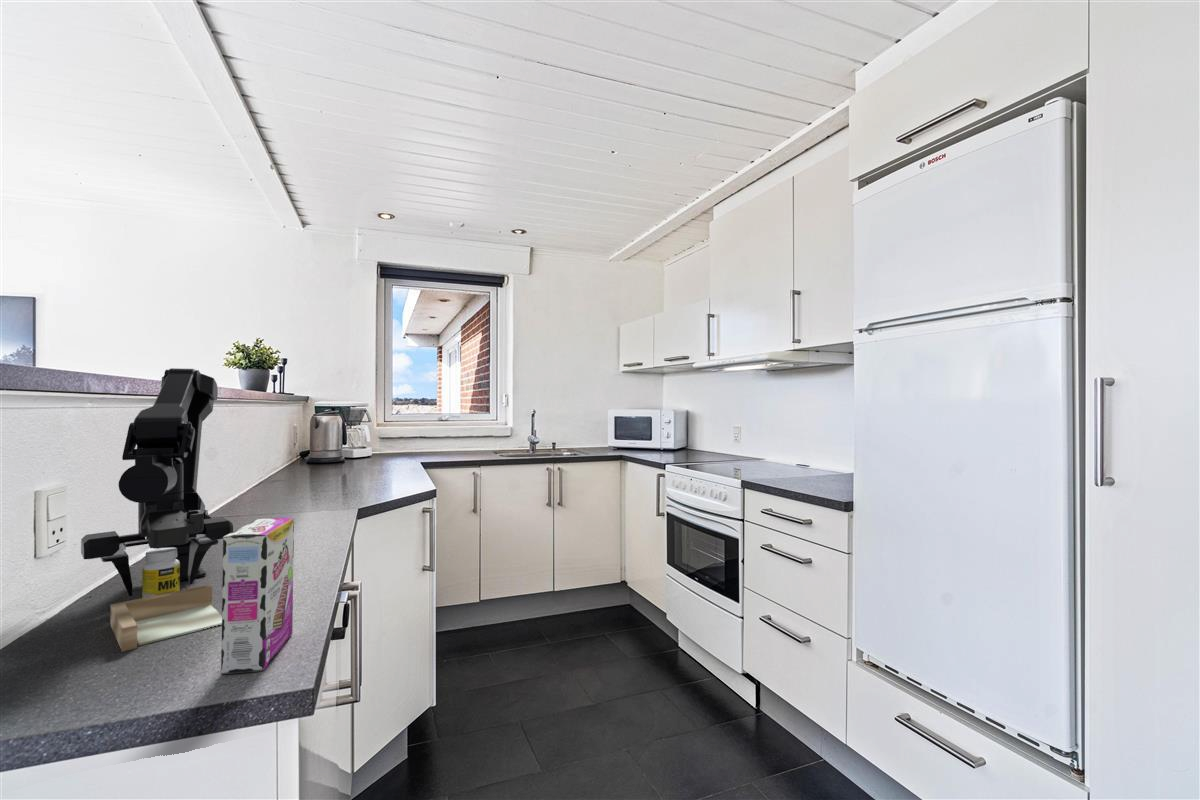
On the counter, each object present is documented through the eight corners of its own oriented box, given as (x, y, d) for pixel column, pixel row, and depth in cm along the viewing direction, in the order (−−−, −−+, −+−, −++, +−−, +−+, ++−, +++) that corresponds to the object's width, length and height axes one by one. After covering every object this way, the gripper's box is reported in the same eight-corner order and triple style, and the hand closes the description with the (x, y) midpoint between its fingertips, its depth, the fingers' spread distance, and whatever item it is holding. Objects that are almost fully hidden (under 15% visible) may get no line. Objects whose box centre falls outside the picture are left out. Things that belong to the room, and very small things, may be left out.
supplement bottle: (158, 609, 87) (158, 555, 87) (134, 607, 88) (134, 553, 88) (187, 598, 91) (187, 547, 91) (163, 596, 92) (163, 545, 92)
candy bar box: (266, 671, 66) (266, 534, 66) (219, 676, 65) (219, 536, 65) (295, 633, 77) (295, 515, 77) (255, 637, 76) (255, 517, 76)
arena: (110, 625, 80) (110, 604, 80) (209, 603, 89) (209, 584, 89) (122, 651, 72) (122, 628, 72) (230, 624, 80) (230, 603, 80)
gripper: (87, 507, 77) (87, 619, 77) (242, 491, 91) (242, 587, 91) (80, 498, 85) (80, 600, 85) (224, 484, 99) (224, 572, 98)
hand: (161, 589), depth 90 cm, fingers open, 7 cm apart
